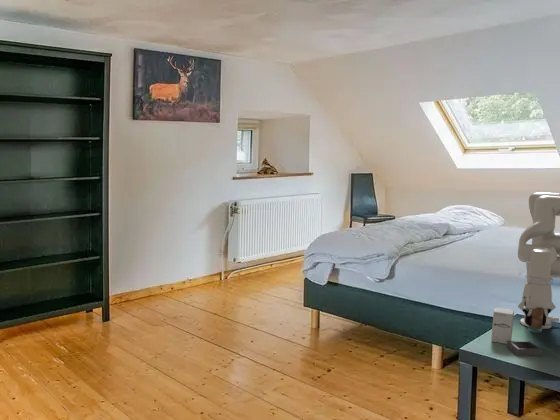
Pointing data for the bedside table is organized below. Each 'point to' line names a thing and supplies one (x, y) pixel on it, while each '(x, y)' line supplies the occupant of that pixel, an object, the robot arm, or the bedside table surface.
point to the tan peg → (536, 320)
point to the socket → (524, 348)
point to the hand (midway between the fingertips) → (535, 324)
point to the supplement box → (502, 325)
